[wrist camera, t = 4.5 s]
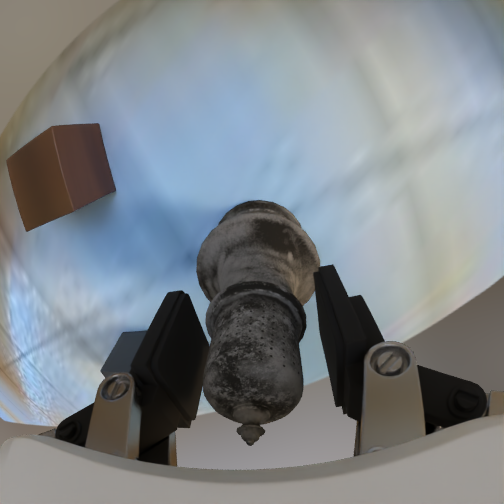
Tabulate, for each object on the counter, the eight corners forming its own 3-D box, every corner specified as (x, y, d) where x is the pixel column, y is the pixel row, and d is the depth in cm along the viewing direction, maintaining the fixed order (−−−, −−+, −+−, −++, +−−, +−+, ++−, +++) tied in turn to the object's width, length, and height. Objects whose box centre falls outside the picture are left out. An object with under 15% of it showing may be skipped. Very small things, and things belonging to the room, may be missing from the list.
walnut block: (99, 122, 13) (51, 125, 9) (116, 190, 15) (74, 211, 11) (51, 149, 14) (5, 160, 10) (67, 209, 16) (25, 232, 11)
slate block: (170, 328, 19) (151, 372, 15) (190, 368, 21) (179, 411, 17) (122, 332, 20) (99, 370, 16) (145, 370, 21) (129, 408, 17)
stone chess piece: (225, 295, 18) (188, 477, 7) (196, 209, 15) (78, 371, 4) (316, 276, 17) (366, 462, 6) (298, 184, 15) (388, 335, 4)
